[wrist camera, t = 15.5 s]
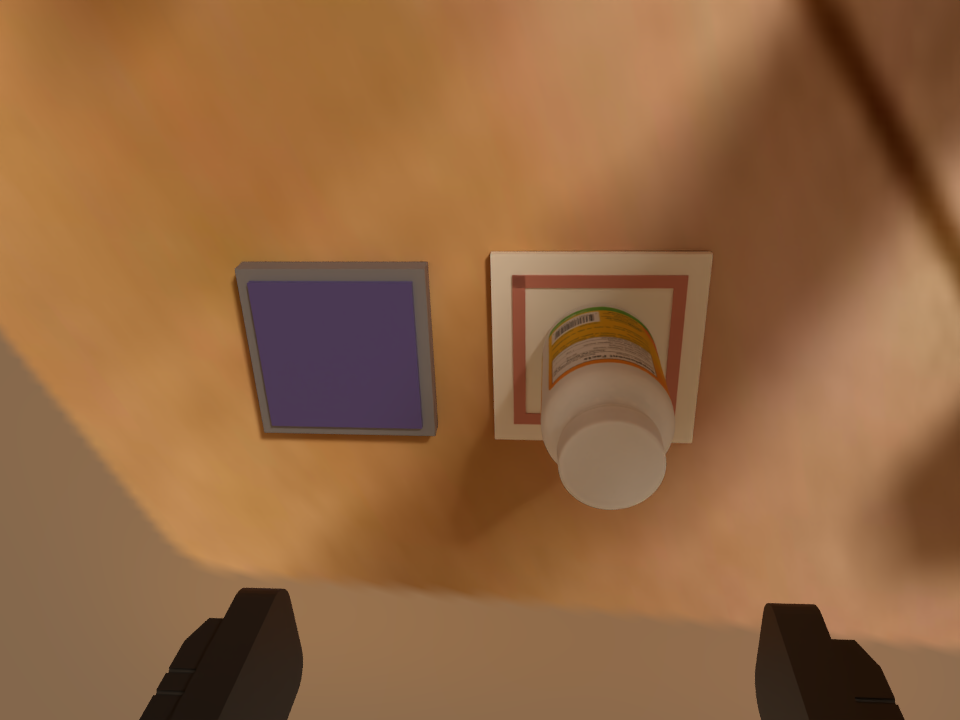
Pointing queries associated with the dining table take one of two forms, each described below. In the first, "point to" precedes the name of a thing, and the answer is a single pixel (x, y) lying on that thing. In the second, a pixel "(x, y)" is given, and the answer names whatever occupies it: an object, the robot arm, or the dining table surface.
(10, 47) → the dining table surface
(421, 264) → the ink pad
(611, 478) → the supplement bottle
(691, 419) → the marked card
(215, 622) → the robot arm
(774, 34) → the dining table surface
